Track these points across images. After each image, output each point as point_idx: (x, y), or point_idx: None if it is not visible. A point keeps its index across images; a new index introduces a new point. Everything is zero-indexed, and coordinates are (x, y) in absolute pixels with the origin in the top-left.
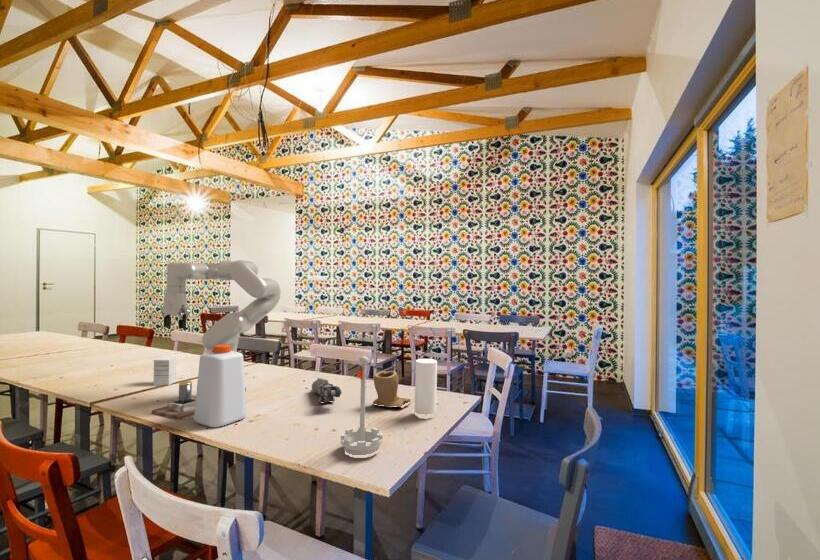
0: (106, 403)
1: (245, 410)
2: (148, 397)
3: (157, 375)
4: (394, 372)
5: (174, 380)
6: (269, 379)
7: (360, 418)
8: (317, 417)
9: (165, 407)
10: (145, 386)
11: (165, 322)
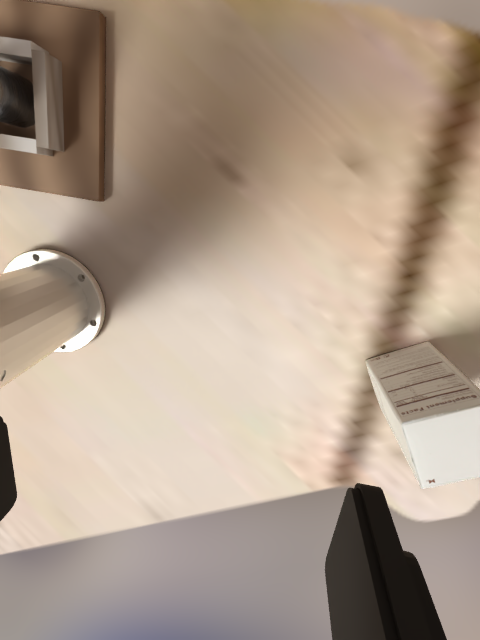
0: (414, 47)
1: None
2: (306, 195)
3: (429, 365)
4: None
5: (379, 404)
6: (92, 505)
7: None
8: None
9: (84, 68)
10: (453, 322)
11: (362, 566)
